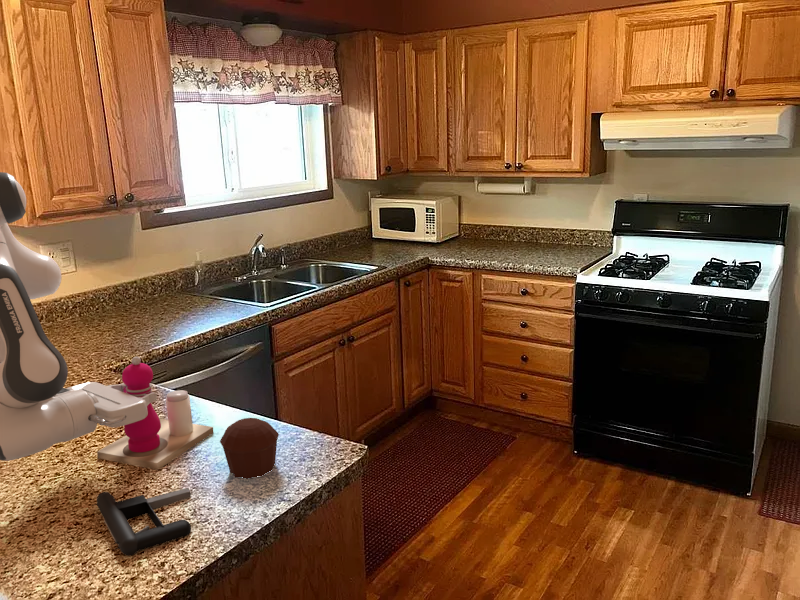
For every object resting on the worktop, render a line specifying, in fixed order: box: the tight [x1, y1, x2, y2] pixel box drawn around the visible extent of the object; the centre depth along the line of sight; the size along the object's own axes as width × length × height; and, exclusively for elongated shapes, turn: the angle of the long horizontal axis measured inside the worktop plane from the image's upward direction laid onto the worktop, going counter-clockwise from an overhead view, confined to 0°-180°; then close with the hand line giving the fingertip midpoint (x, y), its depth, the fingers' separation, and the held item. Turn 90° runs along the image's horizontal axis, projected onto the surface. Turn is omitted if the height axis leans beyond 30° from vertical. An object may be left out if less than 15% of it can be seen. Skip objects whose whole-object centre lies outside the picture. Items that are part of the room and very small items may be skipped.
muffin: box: [219, 417, 280, 480], centre depth 132 cm, size 12×11×10 cm
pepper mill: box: [121, 356, 161, 452], centre depth 138 cm, size 7×7×20 cm
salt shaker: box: [165, 389, 194, 437], centre depth 146 cm, size 5×5×9 cm
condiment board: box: [96, 417, 214, 471], centre depth 144 cm, size 16×18×2 cm
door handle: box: [91, 487, 192, 557], centre depth 116 cm, size 3×20×16 cm
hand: (141, 390), depth 138 cm, fingers open, 8 cm apart
